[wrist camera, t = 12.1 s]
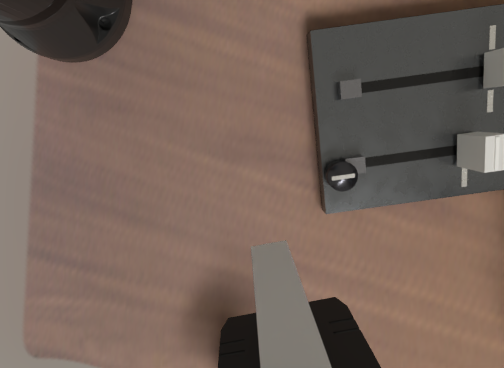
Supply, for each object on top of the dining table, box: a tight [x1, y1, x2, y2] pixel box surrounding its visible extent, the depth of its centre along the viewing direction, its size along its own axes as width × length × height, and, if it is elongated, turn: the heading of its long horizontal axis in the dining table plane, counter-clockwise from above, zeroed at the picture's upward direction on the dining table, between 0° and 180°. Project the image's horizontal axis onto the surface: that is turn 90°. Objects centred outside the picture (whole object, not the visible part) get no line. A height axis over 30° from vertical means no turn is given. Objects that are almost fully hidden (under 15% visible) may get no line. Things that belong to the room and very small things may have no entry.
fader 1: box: [457, 132, 504, 173], centre depth 36 cm, size 4×2×5 cm, turn 8°
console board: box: [307, 4, 504, 214], centre depth 37 cm, size 22×30×4 cm
